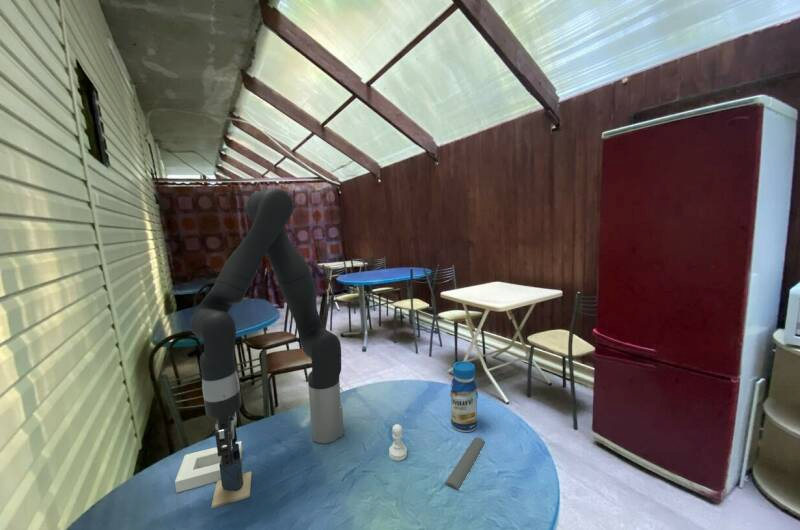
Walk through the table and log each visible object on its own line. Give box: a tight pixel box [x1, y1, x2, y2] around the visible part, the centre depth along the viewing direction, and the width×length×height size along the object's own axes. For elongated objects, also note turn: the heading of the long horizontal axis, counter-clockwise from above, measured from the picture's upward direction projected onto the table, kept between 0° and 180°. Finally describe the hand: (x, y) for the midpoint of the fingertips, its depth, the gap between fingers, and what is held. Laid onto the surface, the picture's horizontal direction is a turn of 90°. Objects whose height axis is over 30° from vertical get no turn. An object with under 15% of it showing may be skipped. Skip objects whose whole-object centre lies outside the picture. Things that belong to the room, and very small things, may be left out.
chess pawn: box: [388, 423, 408, 462], centre depth 90 cm, size 5×5×9 cm
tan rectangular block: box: [211, 470, 252, 509], centre depth 80 cm, size 8×8×1 cm
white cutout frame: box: [174, 440, 244, 493], centre depth 86 cm, size 14×10×3 cm
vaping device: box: [219, 441, 243, 491], centre depth 79 cm, size 3×5×12 cm, turn 81°
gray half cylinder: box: [444, 437, 486, 491], centre depth 87 cm, size 4×20×2 cm, turn 146°
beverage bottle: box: [449, 360, 479, 433], centre depth 101 cm, size 8×8×20 cm
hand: (230, 452), depth 79 cm, fingers open, 8 cm apart
